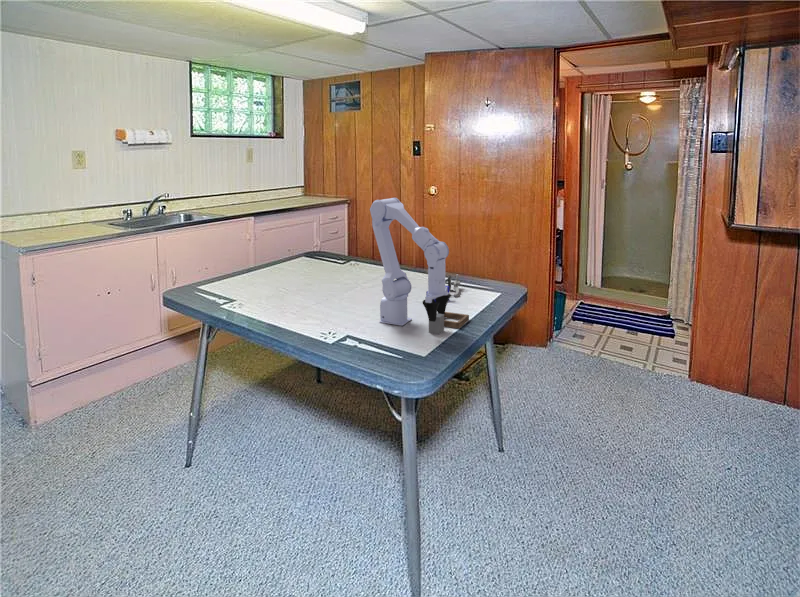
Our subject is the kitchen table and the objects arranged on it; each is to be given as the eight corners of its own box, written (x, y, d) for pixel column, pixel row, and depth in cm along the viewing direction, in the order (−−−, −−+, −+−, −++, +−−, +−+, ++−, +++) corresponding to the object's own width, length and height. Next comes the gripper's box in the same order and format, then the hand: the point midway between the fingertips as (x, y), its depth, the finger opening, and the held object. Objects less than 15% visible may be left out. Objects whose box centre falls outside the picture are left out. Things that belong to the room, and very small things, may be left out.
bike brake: (431, 285, 238) (425, 305, 221) (431, 271, 236) (425, 290, 218) (462, 286, 236) (458, 306, 219) (462, 272, 233) (459, 291, 216)
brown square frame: (432, 324, 190) (432, 319, 189) (443, 316, 199) (443, 311, 198) (459, 328, 186) (459, 323, 185) (468, 320, 194) (469, 314, 194)
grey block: (428, 332, 182) (428, 316, 181) (433, 329, 186) (433, 312, 184) (439, 334, 181) (439, 317, 179) (444, 330, 184) (444, 314, 182)
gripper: (439, 285, 170) (439, 325, 174) (455, 275, 182) (455, 313, 186) (419, 283, 173) (419, 322, 177) (436, 273, 185) (436, 310, 189)
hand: (436, 317), depth 182 cm, fingers open, 7 cm apart
